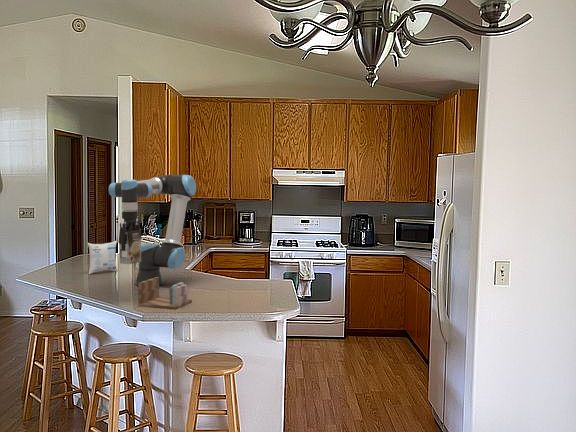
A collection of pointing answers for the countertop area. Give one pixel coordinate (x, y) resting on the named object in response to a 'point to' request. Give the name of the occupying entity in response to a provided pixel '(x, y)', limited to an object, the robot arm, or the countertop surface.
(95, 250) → the pouch
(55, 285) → the countertop surface
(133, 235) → the coffee box
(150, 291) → the shelf
